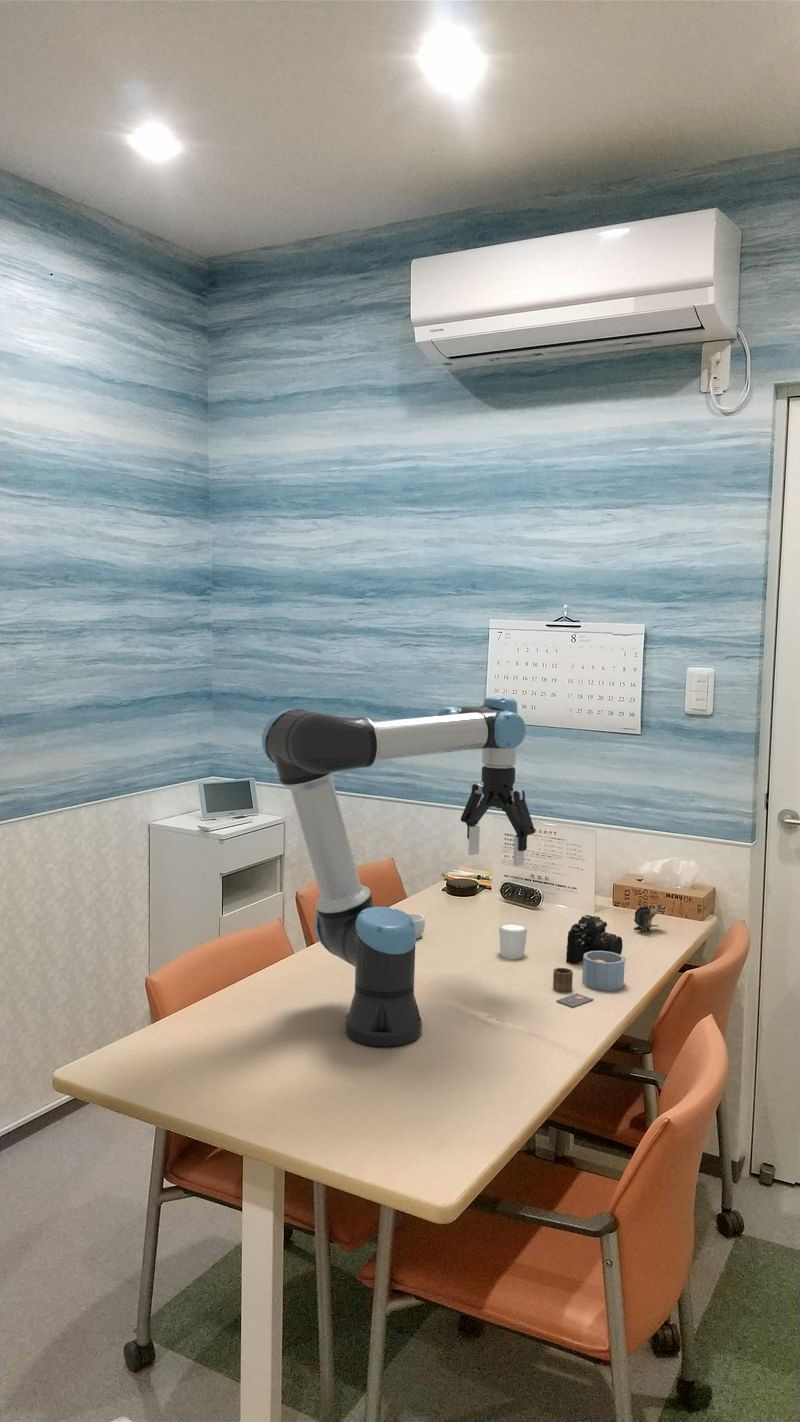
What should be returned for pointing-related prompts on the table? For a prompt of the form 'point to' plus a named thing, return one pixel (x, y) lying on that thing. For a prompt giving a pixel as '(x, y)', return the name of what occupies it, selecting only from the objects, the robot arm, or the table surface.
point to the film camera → (590, 939)
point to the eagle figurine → (646, 917)
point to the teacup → (418, 923)
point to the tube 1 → (562, 979)
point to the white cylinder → (512, 940)
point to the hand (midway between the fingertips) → (495, 859)
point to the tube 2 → (603, 970)
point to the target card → (574, 1000)
